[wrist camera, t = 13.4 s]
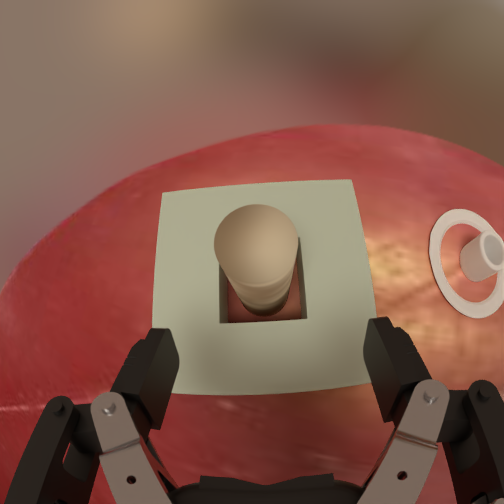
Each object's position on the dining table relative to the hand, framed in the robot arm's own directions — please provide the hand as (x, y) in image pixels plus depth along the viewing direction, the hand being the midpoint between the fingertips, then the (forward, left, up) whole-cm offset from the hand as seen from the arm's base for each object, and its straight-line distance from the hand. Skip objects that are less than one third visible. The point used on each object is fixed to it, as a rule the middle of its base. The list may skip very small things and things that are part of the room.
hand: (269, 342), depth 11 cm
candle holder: (-22, -6, -13) cm, 26 cm away
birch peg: (0, -5, -12) cm, 13 cm away
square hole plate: (0, -5, -12) cm, 13 cm away
